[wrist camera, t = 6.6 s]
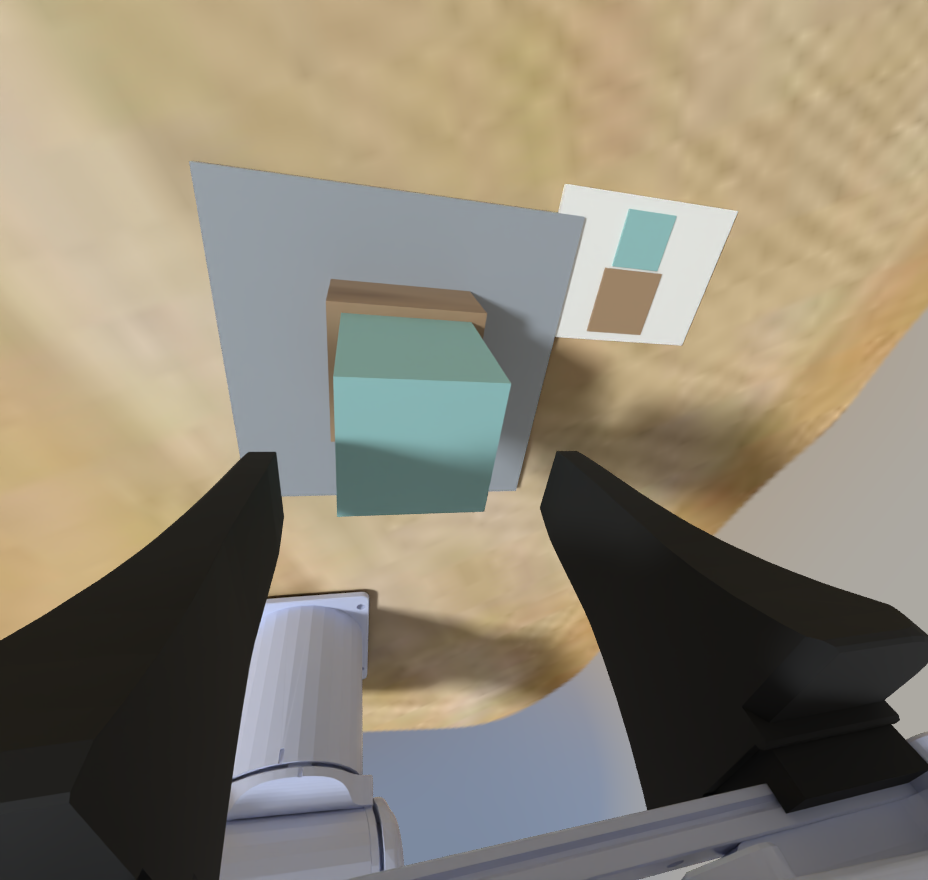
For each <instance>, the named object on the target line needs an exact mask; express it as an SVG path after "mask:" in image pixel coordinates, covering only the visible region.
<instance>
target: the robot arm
mask: <svg viewBox="0 0 928 880" xmlns="http://www.w3.org/2000/svg"><path fill="white" fill-rule="evenodd" d="M540 510H541V513H542V516H543V520H544V523H545V526H546V529H547V532H548V535H549V538H550V541H551V543H552V545H553V547H554V549H555V551H556V553H557V555H558V558H559V560H560V562H561V564H562V566H563V568H564V570H565V572H566V574H567V576H568V578H569V580H570V582H571V584H572V586H573V588H574V590H575V592H576V594H577V596H578V598H579V600H580V602H581V605H582V607H583V609H584V611H585V613H586V615H587V618H588V620H589V622H590V624H591V627H592V630H593V632H594V635H595V638H596V641H597V643H598V646H599V649H600V651H601V654H602V656H603V659H604V662H605V665H606V668H607V671H608V674H609V677H610V680H611V683H612V686H613V689H614V692H615V695H616V698H617V701H618V705H619V708H620V711H621V715H622V718H623V722H624V725H625V728H626V731H627V735H628V738H629V741H630V745H631V749H632V752H633V756H634V760H635V764H636V768H637V771H638V775H639V779H640V783H641V787H642V790H643V794H644V799H645V803H646V807H647V811H643V812H639V813H634V814H630V815H625V816H621V817H617V818H612V819H608V820H603V821H599V822H595V823H590V824H586V825H582V826H578V827H573V828H568V829H564V830H560V831H555V832H551V833H546V834H542V835H538V836H533V837H529V838H524V839H521V840H516V841H512V842H507V843H503V844H498V845H494V846H489V847H485V848H481V849H476V850H472V851H468V852H463V853H459V854H454V855H450V856H446V857H442V858H437V859H433V860H428V861H424V862H419V863H415V864H411V865H406V866H404V859H403V849H402V842H401V835H400V831H399V826H398V823H397V820H396V818H395V816H394V814H393V812H392V811H391V810H390V808H389V806H388V804H387V802H386V801H385V800H384V799H383V798H381V797H375V798H373V778H372V775H362V774H363V769H362V767H363V764H362V763H363V762H362V759H363V758H362V757H363V756H362V679H365V678H366V677H367V664H368V626H369V595H368V594H367V593H365V592H351V593H338V594H325V595H312V596H299V597H285V598H272V599H267V596H268V593H269V589H270V585H271V582H272V578H273V574H274V571H275V567H276V563H277V559H278V555H279V549H280V542H281V535H282V528H283V520H284V513H283V505H282V496H281V488H280V479H279V470H278V462H277V453H276V452H248V453H246V454H245V455H244V456H243V457H242V458H241V459H240V460H239V461H238V462H237V463H236V464H235V465H234V466H233V467H232V468H231V469H230V470H229V471H228V472H227V473H226V474H225V475H224V476H223V477H222V478H221V479H220V480H219V481H218V482H217V483H216V484H215V485H214V486H213V487H212V488H211V489H210V490H209V491H208V492H207V493H206V494H205V495H204V496H203V497H202V498H201V499H200V500H199V501H198V502H197V503H196V504H194V505H193V506H192V507H191V508H190V509H189V510H188V511H187V512H186V513H185V514H184V515H182V516H181V517H180V518H179V519H178V520H177V521H175V522H174V523H173V524H172V525H171V526H170V527H168V528H167V529H166V530H165V531H164V532H163V533H161V534H160V535H159V536H158V537H157V538H156V539H154V540H153V541H152V542H151V543H149V544H148V545H147V546H146V547H144V548H143V549H142V550H140V551H139V552H138V553H137V554H135V555H134V556H132V557H131V558H130V559H128V560H127V561H125V562H124V563H123V564H121V565H120V566H119V567H117V568H116V569H114V570H113V571H112V572H110V573H109V574H107V575H106V576H104V577H103V578H101V579H100V580H98V581H97V582H95V583H94V584H92V585H91V586H89V587H87V588H86V589H84V590H83V591H81V592H80V593H78V594H76V595H75V596H73V597H72V598H70V599H69V600H67V601H66V602H64V603H62V604H61V605H59V606H58V607H56V608H55V609H53V610H51V611H50V612H48V613H47V614H45V615H43V616H42V617H40V618H38V619H37V620H35V621H33V622H32V623H30V624H28V625H26V626H25V627H23V628H21V629H20V630H18V631H16V632H14V633H13V634H11V635H9V636H7V637H6V638H4V639H2V640H0V880H639V879H642V878H646V877H650V876H654V875H657V874H661V873H665V872H668V871H672V870H676V869H679V868H683V867H687V866H690V865H694V864H698V863H702V862H705V861H709V860H712V859H716V858H720V857H722V858H720V859H718V860H716V861H713V862H711V863H708V864H706V865H703V866H701V867H699V868H696V869H694V870H691V871H689V872H687V873H686V874H685V876H684V877H683V879H682V880H928V732H924V733H921V734H918V735H915V736H913V737H911V738H909V739H907V740H905V739H904V738H903V737H902V735H901V734H900V733H899V732H898V731H897V730H896V729H895V728H894V727H893V726H892V725H891V724H895V723H897V722H898V721H899V720H900V719H899V715H898V714H897V713H896V712H895V711H894V710H893V709H892V708H891V707H890V706H889V705H888V703H887V702H886V701H885V699H886V698H887V697H889V696H890V695H891V694H892V693H894V692H895V691H896V690H897V689H899V688H900V687H901V686H902V685H904V684H905V683H906V682H907V681H908V680H910V679H911V678H912V677H913V676H915V675H916V674H917V673H918V672H919V671H920V670H921V669H922V668H923V667H925V666H926V664H927V663H928V635H927V634H926V633H925V632H924V631H923V630H921V629H920V628H919V627H918V626H917V625H916V624H914V623H913V622H912V621H911V620H910V619H908V618H907V617H906V616H905V615H904V614H902V613H901V612H900V611H898V610H897V609H895V608H894V607H892V606H891V605H888V604H885V603H882V602H879V601H876V600H873V599H870V598H867V597H863V596H861V595H857V594H854V593H851V592H848V591H845V590H842V589H839V588H836V587H833V586H830V585H827V584H824V583H821V582H819V581H816V580H813V579H811V578H808V577H805V576H803V575H800V574H797V573H795V572H792V571H790V570H787V569H784V568H782V567H780V566H777V565H775V564H772V563H770V562H767V561H765V560H763V559H761V558H759V557H756V556H754V555H752V554H750V553H747V552H745V551H743V550H741V549H738V548H736V547H734V546H732V545H730V544H728V543H726V542H724V541H721V540H720V539H718V538H716V537H714V536H712V535H710V534H708V533H707V532H705V531H703V530H701V529H699V528H697V527H695V526H693V525H692V524H690V523H688V522H686V521H685V520H683V519H681V518H679V517H678V516H676V515H674V514H673V513H671V512H669V511H668V510H666V509H665V508H663V507H661V506H660V505H658V504H656V503H655V502H653V501H652V500H650V499H649V498H647V497H646V496H644V495H643V494H641V493H640V492H638V491H637V490H635V489H634V488H632V487H631V486H629V485H628V484H626V483H625V482H623V481H622V480H620V479H619V478H617V477H616V476H615V475H613V474H612V473H610V472H609V471H607V470H606V469H604V468H603V467H601V466H600V465H598V464H597V463H595V462H594V461H592V460H591V459H589V458H588V457H586V456H584V455H583V454H581V453H579V452H577V451H557V452H556V455H555V459H554V462H553V465H552V469H551V472H550V475H549V479H548V482H547V485H546V489H545V492H544V496H543V499H542V502H541V506H540Z"/></svg>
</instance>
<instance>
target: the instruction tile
mask: <svg viewBox="0 0 928 880" xmlns="http://www.w3.org/2000/svg"><path fill="white" fill-rule="evenodd" d="M558 213H563V214H570V215H577V216H583V217H585V219H584V223H583V227H582V231H581V235H580V239H579V243H578V247H577V251H576V255H575V259H574V263H573V267H572V271H571V274H570V278H569V282H568V286H567V290H566V294H565V298H564V302H563V306H562V310H561V314H560V318H559V322H558V326H557V330H556V334H555V337H564V338H578V339H593V340H608V341H623V342H638V343H653V344H668V345H682V344H683V342H684V339H685V337H686V334H687V332H688V330H689V327H690V325H691V323H692V320H693V318H694V315H695V313H696V311H697V308H698V306H699V304H700V301H701V299H702V296H703V294H704V292H705V289H706V287H707V284H708V282H709V280H710V277H711V275H712V273H713V270H714V268H715V265H716V263H717V261H718V258H719V256H720V253H721V251H722V249H723V246H724V244H725V242H726V239H727V237H728V234H729V232H730V230H731V227H732V225H733V223H734V220H735V218H736V215H737V213H738V211H733V210H727V209H721V208H715V207H708V206H702V205H696V204H689V203H683V202H677V201H671V200H664V199H658V198H652V197H645V196H639V195H633V194H627V193H620V192H614V191H608V190H601V189H595V188H589V187H583V186H576V185H570V184H564V188H563V193H562V197H561V202H560V206H559V211H558Z"/></svg>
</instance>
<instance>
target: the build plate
mask: <svg viewBox="0 0 928 880" xmlns="http://www.w3.org/2000/svg"><path fill="white" fill-rule="evenodd" d="M189 163H190V169H191V175H192V181H193V187H194V192H195V198H196V204H197V210H198V216H199V221H200V227H201V233H202V239H203V244H204V250H205V256H206V262H207V268H208V273H209V279H210V285H211V291H212V297H213V302H214V308H215V314H216V320H217V325H218V331H219V337H220V343H221V349H222V354H223V360H224V366H225V372H226V378H227V383H228V389H229V395H230V401H231V406H232V412H233V418H234V424H235V430H236V435H237V441H238V447H239V453H240V459H241V458H242V457H243V456H244V455H245V454H246V453H248V452H276V453H277V462H278V470H279V479H280V488H281V496H316V495H337V491H336V456H335V442H331V434H330V407H329V379H328V351H327V324H326V297H327V293H328V289H329V285H330V280H331V279H339V280H350V281H361V282H372V283H383V284H394V285H406V286H417V287H428V288H439V289H450V290H461V291H470V292H471V293H472V295H473V296H474V297H475V299H476V300H477V301H478V302H479V304H480V305H481V306H482V307H483V309H484V310H485V311H486V313H487V318H486V324H485V330H484V336H483V341H484V342H485V344H486V345H487V347H488V348H489V350H490V351H491V353H492V355H493V356H494V358H495V359H496V361H497V362H498V364H499V365H500V367H501V368H502V370H503V372H504V373H505V375H506V376H507V378H508V379H509V381H510V382H511V387H510V392H509V396H508V401H507V406H506V411H505V415H504V420H503V425H502V430H501V434H500V439H499V444H498V449H497V453H496V458H495V463H494V468H493V472H492V477H491V482H490V486H489V491H516V488H517V484H518V480H519V476H520V472H521V468H522V464H523V460H524V456H525V452H526V448H527V444H528V440H529V436H530V432H531V428H532V424H533V421H534V417H535V413H536V409H537V405H538V401H539V397H540V393H541V389H542V385H543V381H544V377H545V373H546V369H547V365H548V361H549V357H550V353H551V349H552V346H553V342H554V338H555V334H556V330H557V326H558V322H559V318H560V314H561V310H562V306H563V302H564V298H565V294H566V290H567V286H568V282H569V278H570V274H571V271H572V267H573V263H574V259H575V255H576V251H577V247H578V243H579V239H580V235H581V231H582V227H583V223H584V219H585V217H583V216H577V215H570V214H563V213H558V212H551V211H544V210H537V209H530V208H522V207H515V206H508V205H501V204H494V203H487V202H480V201H473V200H466V199H459V198H452V197H445V196H437V195H430V194H423V193H416V192H409V191H402V190H395V189H388V188H381V187H374V186H367V185H360V184H353V183H345V182H338V181H331V180H324V179H317V178H310V177H303V176H296V175H289V174H282V173H275V172H268V171H260V170H253V169H246V168H239V167H232V166H225V165H218V164H211V163H204V162H197V161H189Z"/></svg>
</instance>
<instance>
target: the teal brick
mask: <svg viewBox="0 0 928 880" xmlns="http://www.w3.org/2000/svg"><path fill="white" fill-rule="evenodd" d="M510 387H511V382H510V381H509V379H508V378H507V376H506V375H505V373H504V372H503V370H502V368H501V367H500V365H499V364H498V362H497V361H496V359H495V358H494V356H493V355H492V353H491V351H490V350H489V348H488V347H487V345H486V344H485V342H484V341H483V339H482V338H481V336H480V335H479V333H478V331H477V330H476V328H475V327H474V325H473V324H472V322H461V321H448V320H434V319H420V318H406V317H393V316H379V315H365V314H351V313H341V317H340V325H339V333H338V341H337V349H336V357H335V366H334V374H333V388H334V422H335V456H336V491H337V517H342V516H371V515H399V514H428V513H457V512H484V510H485V505H486V501H487V496H488V491H489V486H490V482H491V477H492V472H493V468H494V463H495V458H496V453H497V449H498V444H499V439H500V434H501V430H502V425H503V420H504V415H505V411H506V406H507V401H508V396H509V392H510Z"/></svg>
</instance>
